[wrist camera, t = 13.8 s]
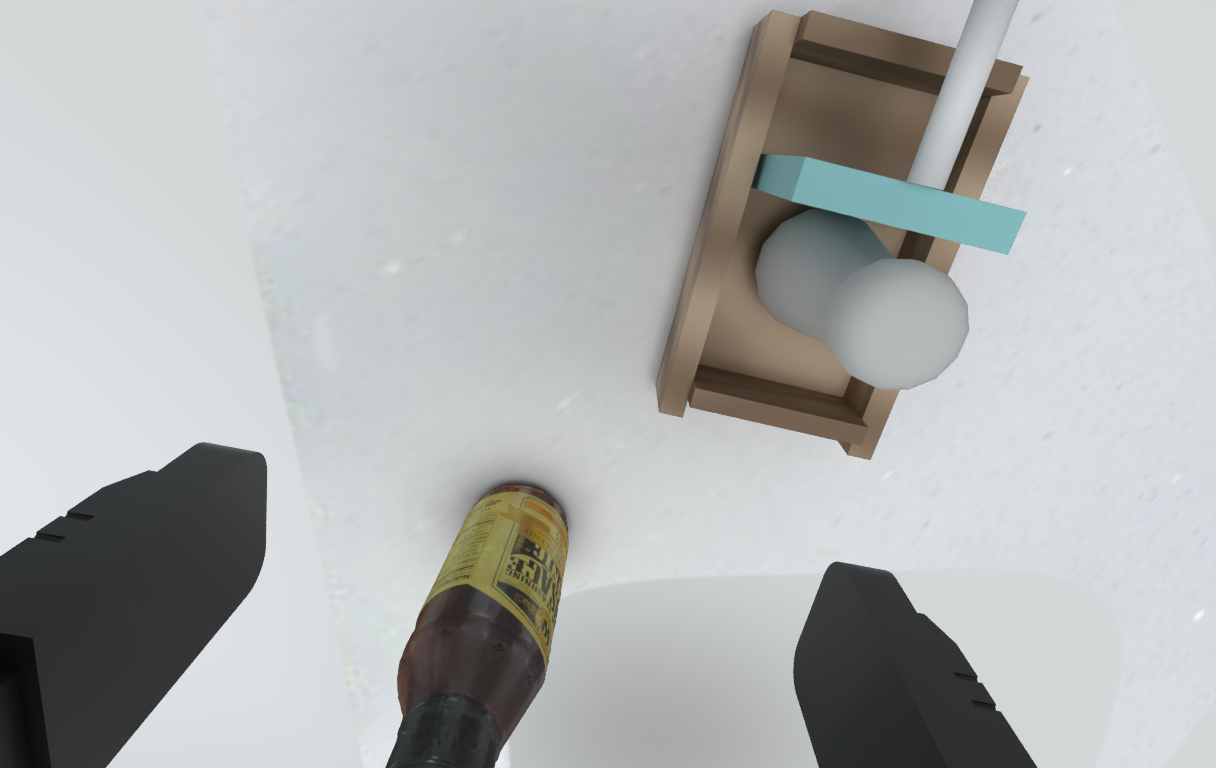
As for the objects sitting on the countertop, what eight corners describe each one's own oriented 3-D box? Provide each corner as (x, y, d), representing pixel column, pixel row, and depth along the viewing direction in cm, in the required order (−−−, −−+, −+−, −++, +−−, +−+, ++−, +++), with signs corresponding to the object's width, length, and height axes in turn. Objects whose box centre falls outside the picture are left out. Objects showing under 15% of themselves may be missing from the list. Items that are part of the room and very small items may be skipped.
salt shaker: (842, 183, 31) (980, 207, 19) (879, 289, 33) (1028, 375, 21) (728, 237, 32) (790, 293, 20) (770, 337, 34) (851, 446, 22)
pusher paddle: (797, 11, 29) (884, -55, 19) (970, 57, 29) (1139, 14, 19) (746, 185, 31) (799, 204, 22) (905, 225, 32) (1027, 260, 22)
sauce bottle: (583, 554, 40) (546, 911, 21) (487, 575, 41) (370, 938, 22) (552, 461, 38) (482, 768, 19) (451, 485, 39) (289, 802, 20)
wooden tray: (754, 26, 30) (780, 2, 25) (980, 85, 31) (1051, 73, 25) (655, 384, 36) (660, 424, 31) (845, 427, 37) (881, 474, 32)
